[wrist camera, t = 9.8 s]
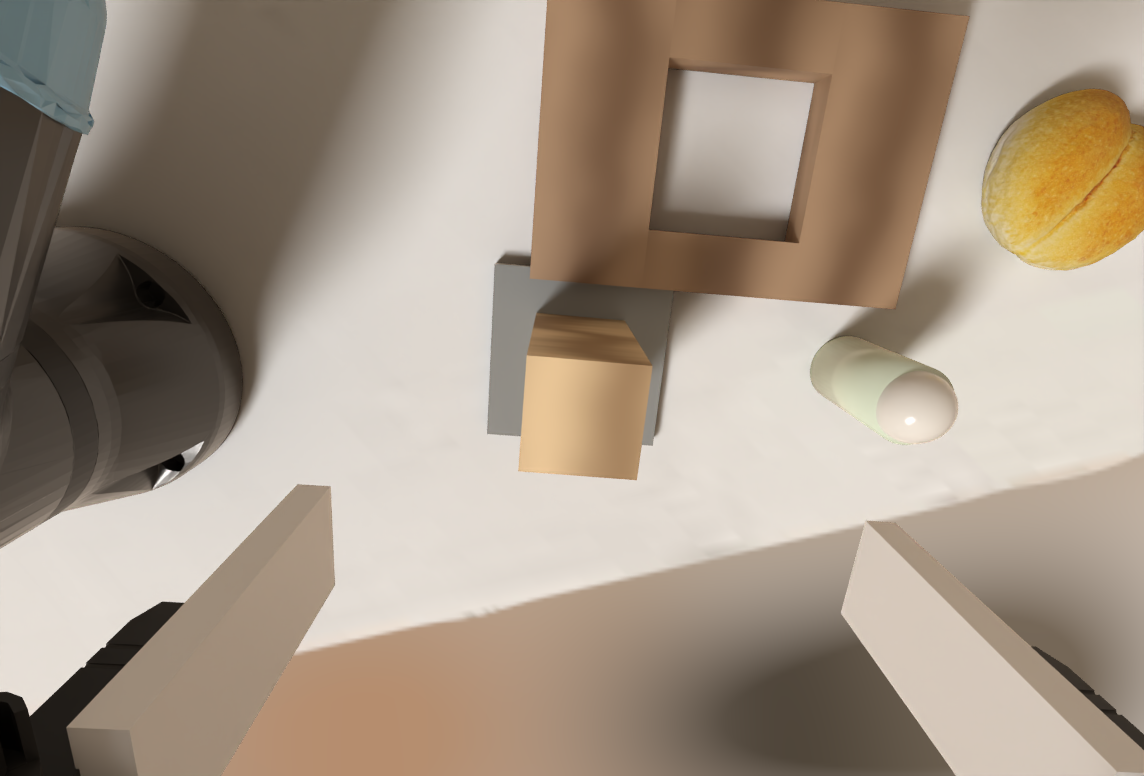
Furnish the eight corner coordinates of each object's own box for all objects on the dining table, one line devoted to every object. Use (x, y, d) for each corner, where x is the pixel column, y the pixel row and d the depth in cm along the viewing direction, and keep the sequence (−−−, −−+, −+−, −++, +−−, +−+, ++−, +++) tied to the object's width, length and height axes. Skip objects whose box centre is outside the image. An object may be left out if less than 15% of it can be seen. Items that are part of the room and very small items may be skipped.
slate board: (488, 429, 35) (487, 433, 34) (496, 262, 32) (494, 263, 31) (650, 440, 35) (652, 445, 34) (672, 277, 32) (675, 279, 31)
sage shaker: (804, 397, 34) (883, 457, 26) (817, 333, 33) (905, 373, 25) (867, 402, 35) (966, 462, 26) (883, 338, 34) (992, 380, 25)
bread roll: (1050, 65, 30) (1123, 42, 26) (1158, 169, 31) (1242, 163, 27) (937, 201, 32) (990, 199, 28) (1045, 293, 33) (1108, 303, 29)
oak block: (529, 397, 33) (518, 471, 24) (536, 312, 32) (526, 355, 22) (614, 403, 33) (636, 480, 24) (624, 320, 32) (652, 366, 22)
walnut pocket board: (531, 274, 32) (529, 278, 30) (549, -13, 28) (549, -30, 26) (875, 303, 33) (895, 309, 31) (942, 29, 29) (969, 16, 27)
